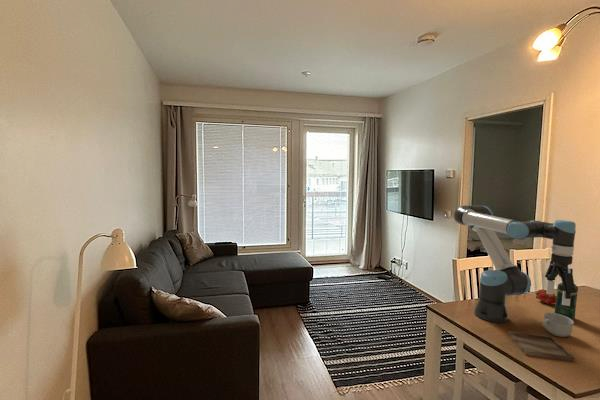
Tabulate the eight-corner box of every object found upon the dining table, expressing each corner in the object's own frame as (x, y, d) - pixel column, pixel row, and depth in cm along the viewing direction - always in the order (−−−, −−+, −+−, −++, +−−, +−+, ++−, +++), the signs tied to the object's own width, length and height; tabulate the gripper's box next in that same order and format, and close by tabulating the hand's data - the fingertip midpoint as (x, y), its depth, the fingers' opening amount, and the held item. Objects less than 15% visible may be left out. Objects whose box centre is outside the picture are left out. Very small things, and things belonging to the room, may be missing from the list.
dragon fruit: (533, 301, 191) (557, 311, 182) (531, 296, 186) (556, 306, 177) (538, 289, 193) (563, 298, 183) (537, 284, 187) (562, 293, 178)
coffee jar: (571, 323, 160) (575, 287, 158) (552, 317, 166) (555, 282, 165) (576, 318, 166) (580, 283, 164) (557, 312, 172) (561, 279, 170)
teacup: (558, 328, 154) (560, 312, 153) (578, 340, 143) (580, 322, 142) (530, 328, 153) (532, 312, 153) (548, 339, 142) (550, 322, 142)
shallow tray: (508, 334, 146) (508, 330, 146) (551, 340, 142) (551, 336, 142) (525, 354, 129) (525, 350, 129) (574, 361, 125) (574, 357, 125)
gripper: (539, 247, 158) (535, 289, 159) (567, 260, 133) (562, 309, 135) (557, 248, 156) (552, 290, 157) (589, 262, 132) (583, 311, 133)
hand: (557, 299), depth 146 cm, fingers open, 13 cm apart
